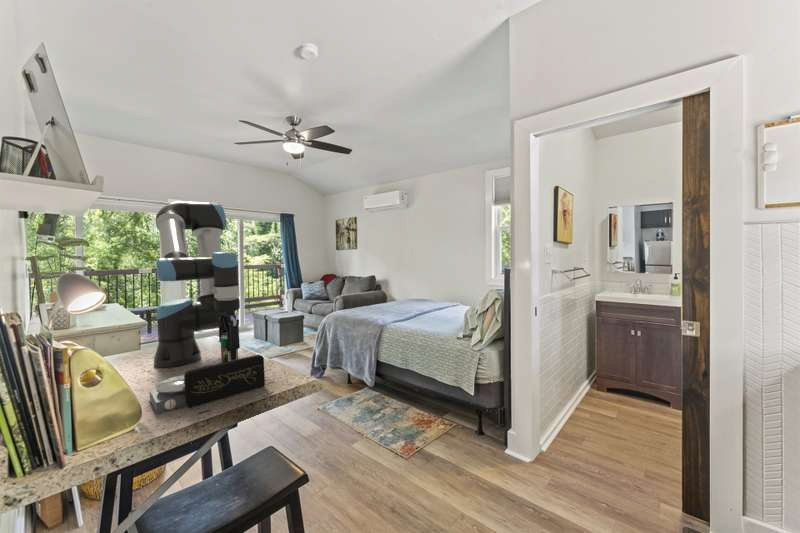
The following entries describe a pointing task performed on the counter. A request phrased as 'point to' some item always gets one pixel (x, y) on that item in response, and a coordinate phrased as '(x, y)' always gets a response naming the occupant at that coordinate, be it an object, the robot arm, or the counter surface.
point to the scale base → (166, 400)
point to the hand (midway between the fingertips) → (230, 366)
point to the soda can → (225, 348)
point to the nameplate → (223, 380)
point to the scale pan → (171, 385)
